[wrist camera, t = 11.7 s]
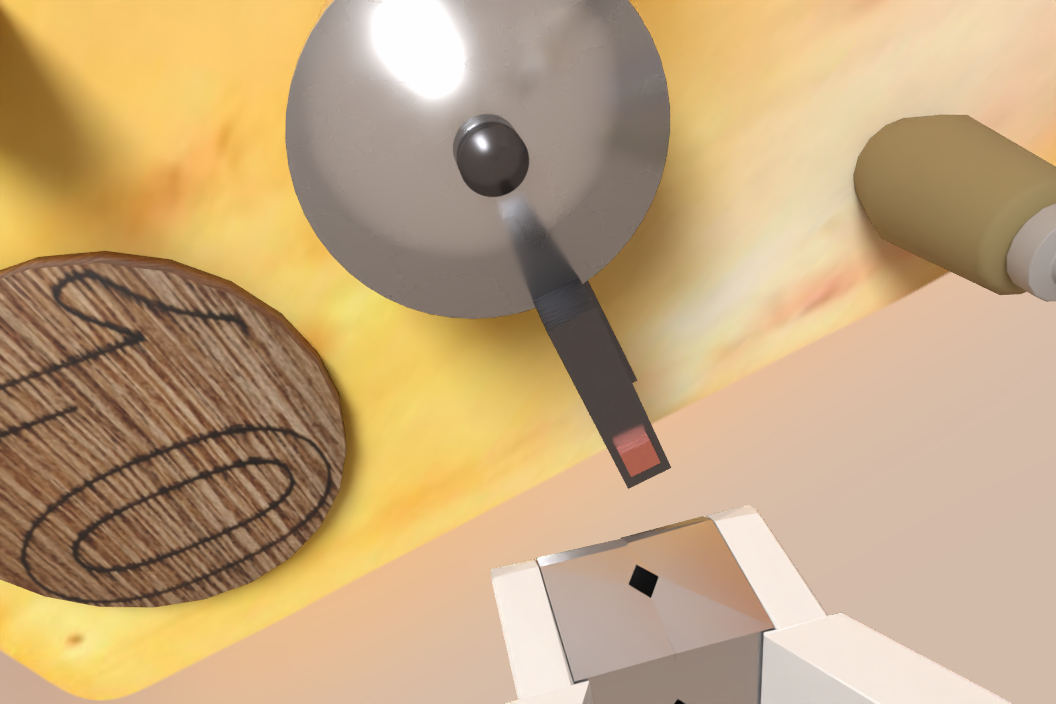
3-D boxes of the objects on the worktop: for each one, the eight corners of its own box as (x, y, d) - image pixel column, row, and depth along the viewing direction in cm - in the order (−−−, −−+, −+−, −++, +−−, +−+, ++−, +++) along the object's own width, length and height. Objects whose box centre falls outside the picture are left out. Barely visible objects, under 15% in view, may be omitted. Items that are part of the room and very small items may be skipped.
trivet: (-222, 378, 43) (-244, 397, 42) (190, 168, 42) (184, 180, 40) (95, 637, 57) (88, 660, 55) (413, 484, 56) (416, 503, 54)
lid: (580, -152, 30) (619, -154, 26) (757, 364, 44) (800, 414, 40) (202, 51, 31) (182, 79, 27) (494, 493, 45) (510, 555, 41)
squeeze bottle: (940, 70, 48) (1223, 166, 32) (968, 181, 52) (1229, 310, 37) (818, 146, 48) (1039, 273, 33) (855, 248, 53) (1066, 402, 38)
